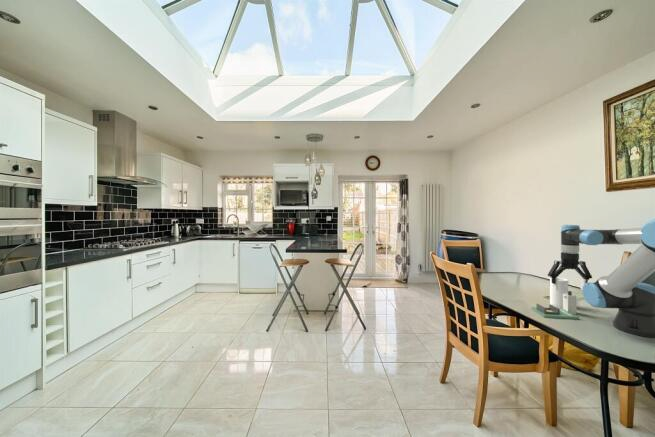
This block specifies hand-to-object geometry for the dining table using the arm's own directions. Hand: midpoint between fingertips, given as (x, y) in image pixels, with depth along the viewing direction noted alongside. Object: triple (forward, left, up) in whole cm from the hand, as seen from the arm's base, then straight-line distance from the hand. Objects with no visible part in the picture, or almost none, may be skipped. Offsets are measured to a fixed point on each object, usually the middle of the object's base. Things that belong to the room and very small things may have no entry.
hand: (569, 290), depth 146 cm
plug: (0, 0, -13) cm, 13 cm away
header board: (-4, +10, -13) cm, 17 cm away
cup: (+12, -2, -13) cm, 17 cm away
